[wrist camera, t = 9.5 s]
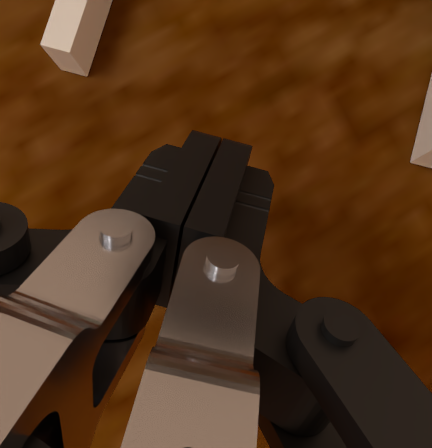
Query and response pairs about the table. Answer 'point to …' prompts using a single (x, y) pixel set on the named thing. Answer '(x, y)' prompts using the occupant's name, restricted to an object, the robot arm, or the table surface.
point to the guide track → (90, 35)
